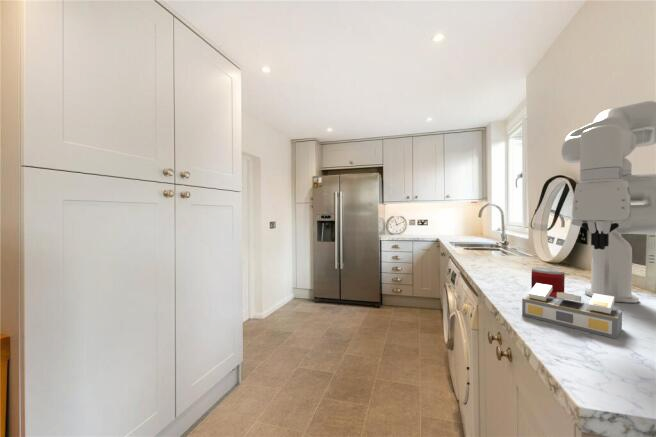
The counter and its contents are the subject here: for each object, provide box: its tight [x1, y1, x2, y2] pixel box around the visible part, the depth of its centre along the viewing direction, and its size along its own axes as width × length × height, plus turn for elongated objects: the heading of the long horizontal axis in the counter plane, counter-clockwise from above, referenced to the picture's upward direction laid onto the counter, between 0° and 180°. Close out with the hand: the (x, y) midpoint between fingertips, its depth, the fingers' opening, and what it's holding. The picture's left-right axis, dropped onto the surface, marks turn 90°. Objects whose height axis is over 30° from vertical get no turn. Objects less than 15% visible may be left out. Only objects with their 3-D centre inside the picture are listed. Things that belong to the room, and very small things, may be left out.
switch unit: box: [521, 295, 623, 340], centre depth 70 cm, size 9×18×5 cm, turn 37°
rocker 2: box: [557, 292, 582, 302], centre depth 70 cm, size 7×4×2 cm, turn 128°
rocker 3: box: [588, 293, 616, 314], centre depth 65 cm, size 7×4×2 cm, turn 127°
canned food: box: [530, 266, 566, 299], centre depth 84 cm, size 8×8×11 cm
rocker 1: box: [528, 283, 552, 301], centre depth 74 cm, size 7×4×2 cm, turn 127°
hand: (599, 248), depth 68 cm, fingers closed
